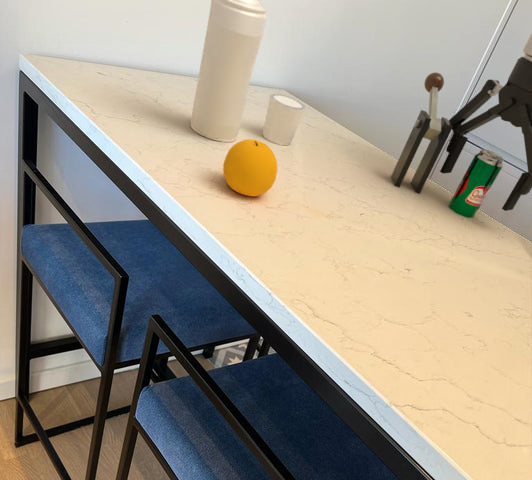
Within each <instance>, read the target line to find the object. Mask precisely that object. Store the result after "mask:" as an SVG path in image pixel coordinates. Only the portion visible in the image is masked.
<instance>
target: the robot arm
mask: <svg viewBox="0 0 532 480" xmlns="http://www.w3.org/2000/svg"><path fill="white" fill-rule="evenodd" d="M522 52H523V54H524V55H523V56H520V57H519V58H518V59H517V60H516V63H515V64H514V66H513V69H512V70H511V72H510V74H509V76H508V78H507V82H506V83H505V85H502V84H501V83H500V81H499V80H497V79H488V80H486V81H485V82H484V85H483V86H482V88H481V90H480V91H479V92H478V93H477V94H476V95H475V96H473V98H472V99H470V100H469V101H468V102H467V103H466V104H465V105H464V106H463V107H462V108H460V109H459V110H458V111H457V112H456V113H455V114H454V115H453V116H452V117H451V118H449V119H448V121H449V122H450V123H451V125H452V126H453V128H452V130H451V131H452V132H453V133H452V136H451V138H450V139H449V142H448V144H447V146H446V149H445V151H446V153H448V154H447V155H446V158H445V160H444V162H443V164H442V166H441V168H440V171H439V172H440V173H441V174H452V171H453V170H454V167H455V165H456V163H457V161H458V159H459V158H460V155H461V153H462V152H463V149H464V147H465V146H466V143H467V142H468V139H469V138H468V137H467V136H466V135H468V134H469V133H471V132H473V131H474V130H477V129H478V128H480V127H482V126H483V125H486V124H487V123H489V122H491V121H493V120H495V119H497V118H500V120H502V121H503V122H508V123H510V124H511V125H512V126H513V127H515V128H521V133H522V135H523V142H524V149H525V156H526V165H527V166H526V167H527V172H522V173H521V175H520V177H519V178H518V180H517V181H516V184H515V185H514V187H513V189H512V190H511V192H510V194H509V195H508V197H507V198H506V201H505V203H504V204H503V206H502V207H501V210H503V211H505V212H507V211H513V210H514V208H515V207H516V204H517V203H518V201H519V200H520V198H521V196H526V195H528V194H529V193H530V192H531V190H532V32H531V34H530V35H529V38H528V40H527V41H526V44H525V45H524V47H523V49H522ZM496 95H497V96H498V103H497V104H495V105H494V106H491V107H490V108H488V109H487V110H486V111H484V112H482V113H481V114H479V115H477V116H475V117H473V118H471V119H469V118H470V117H471V116H472V115H473V114H475V113H476V112H477V111H479V109H480V108H481V107H482V106H483V105H485V104H486V103H487V102H488V101H489V100H491V98H492V97H496ZM468 119H469V120H468ZM467 120H468V121H467Z"/></svg>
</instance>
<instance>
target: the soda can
mask: <svg viewBox="0 0 532 480" xmlns="http://www.w3.org/2000/svg"><path fill="white" fill-rule="evenodd" d="M504 161H505V159H504V157H502V156H501V155H499V154H498V153H496V152H494V151H491V150H488V149H484V148H481V149H479V151H478V152H477V153H476V154H475V155H474V157H473V158H472V160H471V162H470V164H469V166H468V168H467V169H466V171H465V173H464V175H463V177H462V179H461V180H460V182H459V184H458V186H457V188H456V189H455V192H454V193H453V195H452V197H451V199H450V201H449V203H448V204H447V206H448V208H449V209H450V210H451V211H452V212H454V213H455V214H456V215H459V216H461V217H464V218H467V219H473V218H475V216H476V215H477V213H478V211H479V209H480V208H481V206H482V204H483V202H484V200H485V199H486V197H487V196H488V194H489V192H490V190H491V188H492V186H493V185H494V183H495V181H496V180H497V178H498V176H499V174H500V173H501V171H502V169H503V168H504Z"/></svg>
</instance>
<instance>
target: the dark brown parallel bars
mask: <svg viewBox="0 0 532 480" xmlns="http://www.w3.org/2000/svg"><path fill="white" fill-rule="evenodd" d="M440 119H441V132H440V134H439V135H438V136H437V138H436V139H435V140H434V141H432V140H430V142H429V143H428V145H427V147H426V150H425V152H424V154H423V156H422V158H421V160H420V162H419V164H418V166H417V169H416V170H415V172H414V175H413V177H412V178H411V181H410V186H411V188H412V190H413V192H414V194H418V195H419V194H421V192H422V190H423V188H424V186H425V184H426V183H427V180H428V178H429V176H430V173H432V172H431V171H432V170H433V168H434V166H435V165H436V162H437V160H438V158H439V156H440V154H441V152H442V151H443V148H444V147H445V144H446V142H447V140H448V137H449V136H450V134H451V132H452V131H453V130H452V128H453V126H452V125H451V123H450V122H449V119H448V118H447V117H443V116H442V117H441V118H440ZM430 122H431V118H430V117H429V113H428V112H427V111H426V110H422V109H420V111H419V114H418V115H417V118H416V120H415V122H414V125H413V126H412V129H411V131H410V134H409V136H408V138H407V140H406V142H405V145H404V147H403V149H402V152H401V153H400V156H399V158H398V160H397V162H396V164H395V167H394V169H393V171H392V173H391V175H390V178H391V181H392V184H393V186H394V187H396V188H401V185H402V183H403V181H404V179H405V177H406V175H407V173H408V171H409V169H410V166H411V164H412V163H413V160H414V158H415V156H416V153H417V151H418V149H419V147H420V145H421V143H422V141H423V136H424V134H425V132H426V130H427V128H428V126H429V124H430Z"/></svg>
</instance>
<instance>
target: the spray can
mask: <svg viewBox="0 0 532 480" xmlns="http://www.w3.org/2000/svg"><path fill="white" fill-rule="evenodd" d="M267 10H268V9H267V8H266V7H265V5H262V4H261V3H260V1H259V0H211V1H210V8H209V15H208V21H207V26H206V31H205V33H206V34H205V37H204V43H203V49H202V55H201V61H200V65H199V72H198V77H197V84H196V88H195V93H194V99H193V106H192V112H191V119H190V127H191V129H192V130H193V131H194V132H195V133H197V134H198V135H200V136H202V137H204V138H206V139H209V140H213V141H216V142H223V143H231V142H235V141H237V140H238V138H239V137H238V136H239V133H240V128H241V124H242V120H243V115H244V110H245V106H246V101H247V95H248V92H249V86H250V82H251V78H252V75H253V71H254V66H255V63H256V59H257V55H258V53H259V49H260V45H261V41H262V39H263V35H264V30H265V25H266V20H267V14H266V13H267Z"/></svg>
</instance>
